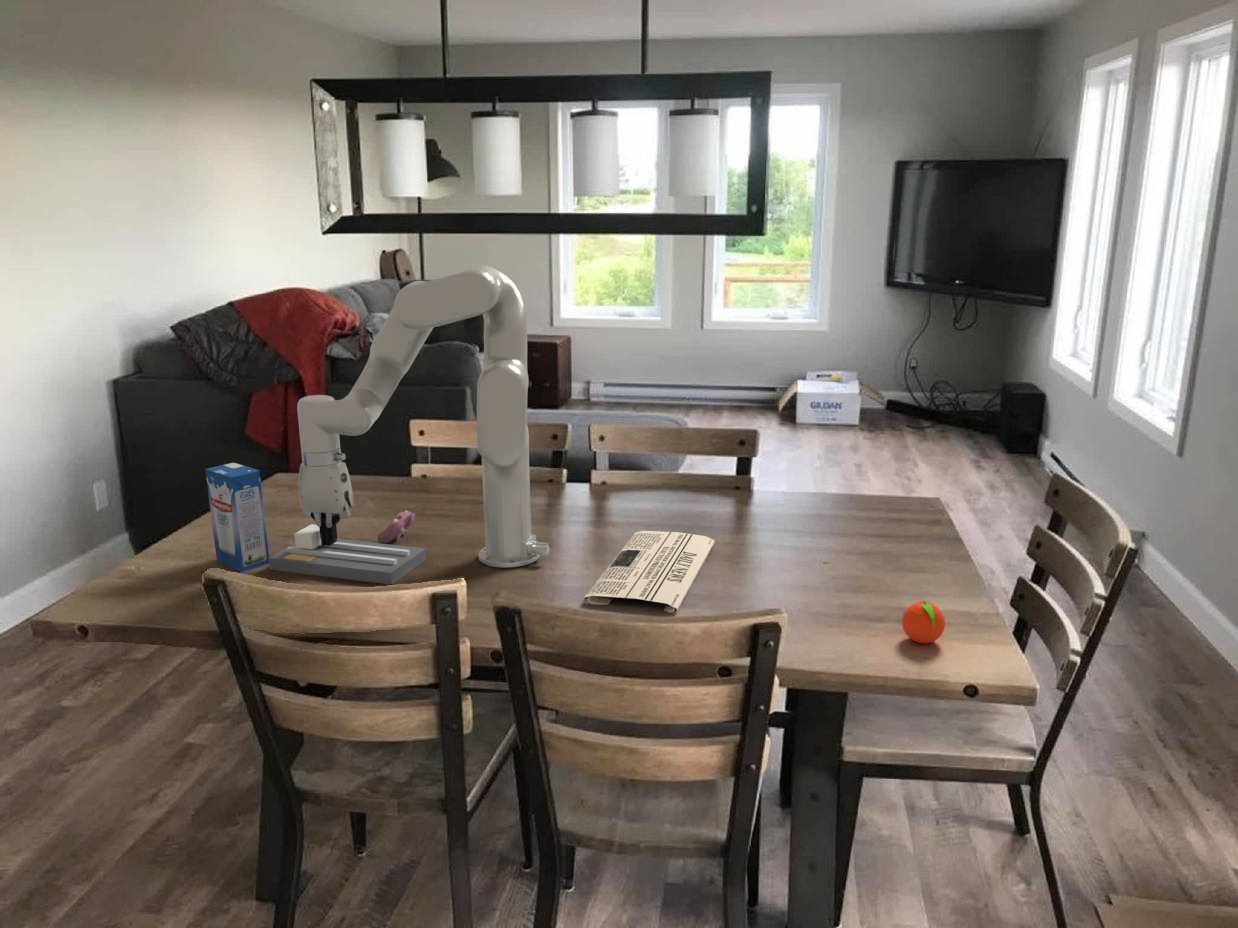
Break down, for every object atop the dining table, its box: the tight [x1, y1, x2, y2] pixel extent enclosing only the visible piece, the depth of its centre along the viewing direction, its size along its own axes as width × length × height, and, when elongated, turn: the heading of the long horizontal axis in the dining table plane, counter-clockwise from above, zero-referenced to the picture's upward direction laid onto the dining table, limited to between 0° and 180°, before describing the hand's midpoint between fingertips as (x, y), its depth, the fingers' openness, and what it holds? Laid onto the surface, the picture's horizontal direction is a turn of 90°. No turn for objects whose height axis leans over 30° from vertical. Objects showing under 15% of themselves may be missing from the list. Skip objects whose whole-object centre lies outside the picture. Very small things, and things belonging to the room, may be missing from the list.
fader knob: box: [293, 523, 321, 549], centre depth 204 cm, size 4×6×4 cm, turn 162°
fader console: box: [268, 538, 427, 585], centre depth 203 cm, size 28×14×3 cm, turn 72°
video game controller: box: [377, 510, 416, 544], centre depth 218 cm, size 10×5×7 cm, turn 169°
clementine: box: [901, 601, 946, 644], centre depth 165 cm, size 8×7×7 cm
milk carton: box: [204, 462, 270, 573], centre depth 202 cm, size 10×6×20 cm, turn 50°
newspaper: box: [583, 530, 715, 615], centre depth 197 cm, size 37×19×3 cm, turn 164°
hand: (329, 543), depth 203 cm, fingers closed
